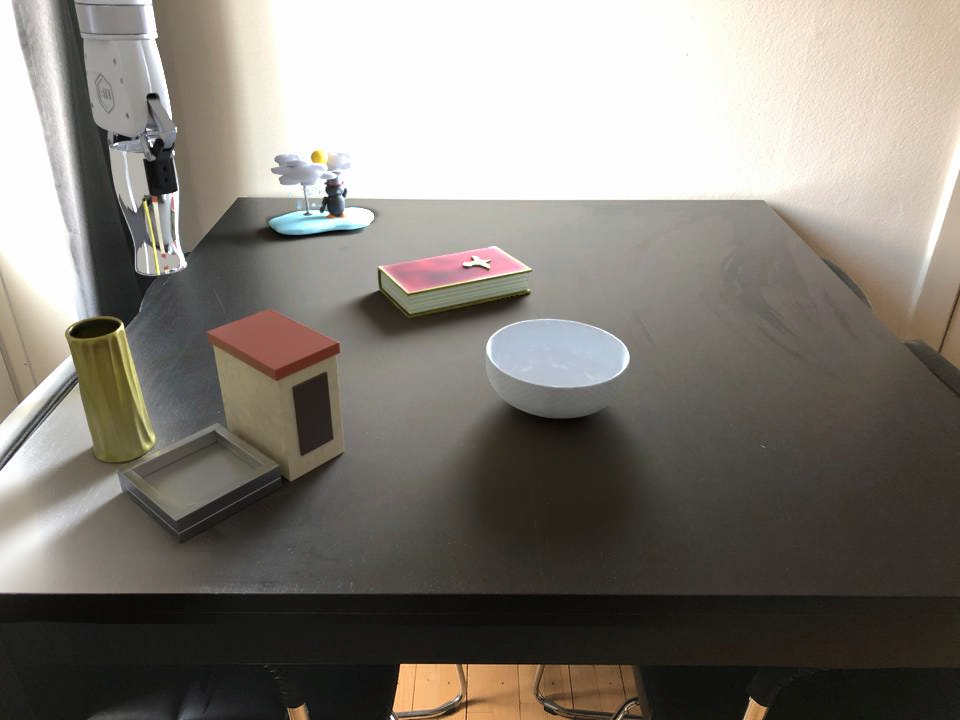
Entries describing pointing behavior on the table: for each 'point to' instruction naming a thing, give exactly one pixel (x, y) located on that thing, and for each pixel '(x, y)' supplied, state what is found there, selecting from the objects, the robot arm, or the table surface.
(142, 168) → the beer glass
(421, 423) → the table surface
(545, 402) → the cereal bowl
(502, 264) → the hardcover book
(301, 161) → the penguin figurine
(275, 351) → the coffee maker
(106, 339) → the vase
